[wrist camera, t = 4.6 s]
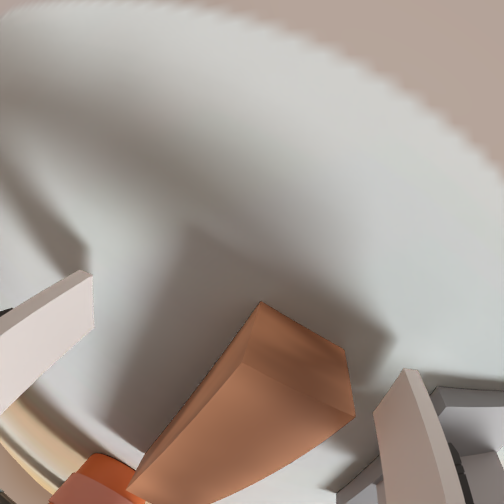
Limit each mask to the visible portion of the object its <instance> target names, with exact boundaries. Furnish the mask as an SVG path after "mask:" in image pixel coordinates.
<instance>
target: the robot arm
mask: <svg viewBox="0 0 504 504" xmlns="http://www.w3.org/2000/svg"><path fill="white" fill-rule="evenodd" d="M94 328H95V327H94V309H93V275H92V274H89V273H87V272H85V271H82V270H78V271H76V272H74V273H73V274H71V275H69V276H67V277H66V278H64V279H62V280H60V281H59V282H57V283H55V284H53V285H52V286H50V287H48V288H47V289H45V290H43V291H41V292H40V293H38V294H36V295H35V296H33V297H31V298H30V299H28V300H27V301H25V302H23V303H22V304H20V305H18V306H17V307H15V308H14V309H13V308H10V309H7V310H3V311H0V415H1V414H2V413H3V412H4V411H5V410H6V409H7V408H8V407H9V406H10V405H11V404H12V403H13V402H14V401H15V400H16V399H17V398H18V397H19V396H20V395H21V394H22V393H23V392H24V391H25V390H27V389H28V388H29V387H30V386H31V385H32V384H33V383H34V382H35V381H36V380H37V379H38V378H39V377H40V376H41V375H42V374H44V373H45V372H46V371H47V370H48V369H49V368H50V367H51V366H52V365H53V364H54V363H55V362H57V361H58V360H59V359H60V358H61V357H62V356H63V355H64V354H65V353H66V352H68V351H69V350H70V349H71V348H72V347H73V346H74V345H75V344H77V343H78V342H79V341H80V340H81V339H82V338H83V337H84V336H86V335H87V334H88V333H89V332H90V331H91V330H93V329H94ZM373 417H374V422H375V428H376V433H377V439H378V445H379V451H380V458H381V464H382V471H383V479H384V486H385V495H386V504H474V502H473V498H472V494H471V491H470V487H469V484H468V480H467V477H466V474H464V472H465V471H464V468H463V465H461V464H462V462H461V459H460V456H459V453H458V451H457V450H456V449H455V447H454V446H453V445H452V443H447V441H446V438H445V435H444V432H443V430H442V427H441V424H440V422H439V419H438V416H437V414H436V411H435V409H434V406H433V404H432V402H431V399H430V397H429V394H428V392H427V390H426V387H425V385H424V383H423V380H422V378H421V376H420V374H419V371H418V370H412V369H406V368H403V370H402V371H401V373H400V375H399V376H398V378H397V379H396V381H395V382H394V384H393V385H392V387H391V388H390V390H389V391H388V392H387V394H386V395H385V397H384V398H383V399H382V401H381V402H380V404H379V405H378V406H377V408H376V409H375V410H374V412H373ZM61 486H62V485H61ZM61 486H60V487H61ZM0 504H16V503H15V502H14V501H13V500H12V499H11V498H9V497H8V496H7V495H6V494H5V493H4V491H3V490H1V489H0Z"/></svg>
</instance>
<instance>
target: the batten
mask: <svg viewBox="0 0 504 504" xmlns="http://www.w3.org/2000/svg"><path fill="white" fill-rule="evenodd" d="M355 417H356V415H355V408H354V402H353V396H352V389H351V383H350V378H349V372H348V366H347V361H346V356H345V350H344V349H342V348H341V347H339V346H337V345H335V344H333V343H332V342H330V341H328V340H326V339H325V338H323V337H321V336H319V335H318V334H316V333H314V332H312V331H311V330H309V329H307V328H305V327H304V326H302V325H300V324H299V323H297V322H295V321H293V320H292V319H290V318H288V317H287V316H285V315H283V314H282V313H280V312H278V311H277V310H275V309H273V308H272V307H270V306H268V305H267V304H265V303H263V302H262V301H260V303H259V304H258V306H257V307H256V308H255V310H254V311H253V313H252V314H251V315H250V317H249V318H248V320H247V321H246V322H245V324H244V325H243V327H242V328H241V329H240V331H239V332H238V333H237V335H236V336H235V338H234V339H233V340H232V342H231V343H230V344H229V346H228V347H227V348H226V350H225V351H224V353H223V354H222V355H221V357H220V358H219V359H218V361H217V362H216V363H215V365H214V366H213V367H212V369H211V370H210V371H209V373H208V374H207V375H206V377H205V378H204V379H203V381H202V382H201V383H200V385H199V386H198V387H197V389H196V390H195V391H194V393H193V394H192V395H191V396H190V398H189V399H188V400H187V402H186V403H185V404H184V406H183V407H182V408H181V409H180V411H179V412H178V413H177V414H176V416H175V417H174V418H173V420H172V421H171V422H170V423H169V425H168V426H167V427H166V428H165V430H164V431H163V432H162V433H161V435H160V436H159V437H158V438H157V440H156V441H155V442H154V443H153V445H152V446H151V447H150V448H149V450H148V451H147V452H146V453H145V455H144V457H143V459H142V460H141V462H140V464H139V466H138V468H137V470H136V472H135V473H134V475H133V477H132V479H131V481H130V483H129V484H128V486H127V488H126V491H128V492H130V493H132V494H134V495H136V496H138V497H140V498H141V499H143V500H145V501H147V502H150V503H152V504H211V503H213V502H216V501H218V500H220V499H223V498H225V497H227V496H229V495H232V494H234V493H236V492H238V491H240V490H242V489H244V488H246V487H248V486H250V485H252V484H254V483H256V482H258V481H260V480H262V479H264V478H265V477H267V476H269V475H271V474H273V473H274V472H276V471H278V470H280V469H281V468H283V467H285V466H286V465H288V464H290V463H291V462H293V461H295V460H296V459H298V458H299V457H301V456H302V455H304V454H306V453H307V452H309V451H310V450H312V449H313V448H315V447H316V446H317V445H319V444H320V443H322V442H323V441H325V440H326V439H327V438H329V437H330V436H332V435H333V434H334V433H336V432H337V431H338V430H340V429H341V428H342V427H344V426H345V425H346V424H348V423H349V422H350V421H351V420H353V419H354V418H355Z"/></svg>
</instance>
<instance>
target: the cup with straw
mask: <svg viewBox="0 0 504 504" xmlns="http://www.w3.org/2000/svg"><path fill="white" fill-rule="evenodd" d="M135 472H136V471H134V470H133V469H131V468H130V467H128V466H127V465H125V464H123V463H121V462H120V461H118V460H116V459H114V458H111V457H109V456H106V455H103V454H99V453H94V454H92V455H91V456H90V457H89V458H88V460H87V461H86V462H85V463H84V464H83V465H82V466H81V468H80V469H79V470H78V471H77V472H76V473H72V474H71V476H70V477H69V478H68V479H67V480H66V481H65V482H64V483H63V485H62V486H61V487H60V488H59V489H58V490H57V491H56V492H55V493H54V495H53V496H52V497H51V498H50V499H49V502H50V503H49V504H145V500H143V499H141V498H140V497H138V496H136V495H134V494H132V493H130V492H128V491H126V488H127V486H128V484H129V483H130V481H131V479H132V477H133V475H134V473H135Z"/></svg>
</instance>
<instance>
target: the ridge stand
mask: <svg viewBox="0 0 504 504" xmlns="http://www.w3.org/2000/svg"><path fill="white" fill-rule="evenodd" d="M430 399H431V402H432V404H433V406H434V409H435V411H436V414H437V416H438V419H439V422H440V424H441V427H442V430H443V432H444V435H445V438H446V441H447V443H452V445H453V446H454V447H455V449H456V450H457V451H458V453H459V456H460V459H461V462H462V464H461V465H463V468H464V471H465V472H464V474H466V477H467V480H468V484H469V487H470V491H471V494H472V498H473V502H474V504H504V470H503V467H502V465H501V462H500V460H499V458H498V455H497V452H498V451H499V450H500V449H501V448H502V447H503V446H504V391H490V390H472V389H458V388H447V387H436V389H435V390H434V391H433V393H432V394H431V396H430ZM336 504H386V495H385V486H384V479H383V471H382V464H381V458H380V455H379V456H378V457H377V458H376V459H375V460H374V461H373V462H372V463H371V464H370V465H369V466H368V467H367V468H366V469H365V470H363V471H362V472H361V473H360V474H359V475H358V476H357V477H356V478H355V479H354V480H352V481H351V482H350V483H349V484H348V485H347V486H345V487H344V488H343V489H342V490H341V491H339V492H338V493H337V494H336Z"/></svg>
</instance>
